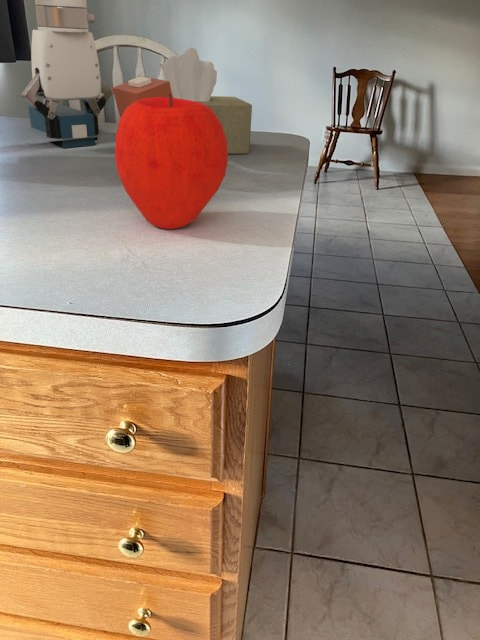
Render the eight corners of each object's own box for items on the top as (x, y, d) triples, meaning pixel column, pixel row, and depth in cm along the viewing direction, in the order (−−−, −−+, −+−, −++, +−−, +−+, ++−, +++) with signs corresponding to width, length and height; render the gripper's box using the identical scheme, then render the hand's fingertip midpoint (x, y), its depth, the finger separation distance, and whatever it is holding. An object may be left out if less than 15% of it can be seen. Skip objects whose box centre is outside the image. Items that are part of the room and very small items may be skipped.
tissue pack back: (97, 145, 93) (95, 114, 90) (65, 149, 89) (61, 117, 87) (63, 132, 101) (60, 104, 98) (32, 135, 97) (28, 106, 95)
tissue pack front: (136, 88, 66) (168, 76, 68) (110, 82, 70) (141, 71, 72) (159, 184, 74) (188, 170, 76) (135, 174, 78) (163, 161, 80)
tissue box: (234, 142, 101) (239, 48, 94) (251, 154, 93) (257, 52, 86) (133, 143, 96) (129, 43, 88) (141, 155, 88) (137, 47, 80)
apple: (247, 228, 60) (255, 99, 54) (160, 251, 53) (157, 105, 46) (181, 201, 67) (181, 85, 61) (98, 218, 60) (87, 88, 54)
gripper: (100, 22, 91) (107, 133, 100) (-4, 17, 81) (14, 142, 89) (124, 24, 86) (129, 140, 95) (17, 19, 76) (34, 150, 85)
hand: (73, 140), depth 92 cm, fingers closed on tissue pack back, 6 cm apart
